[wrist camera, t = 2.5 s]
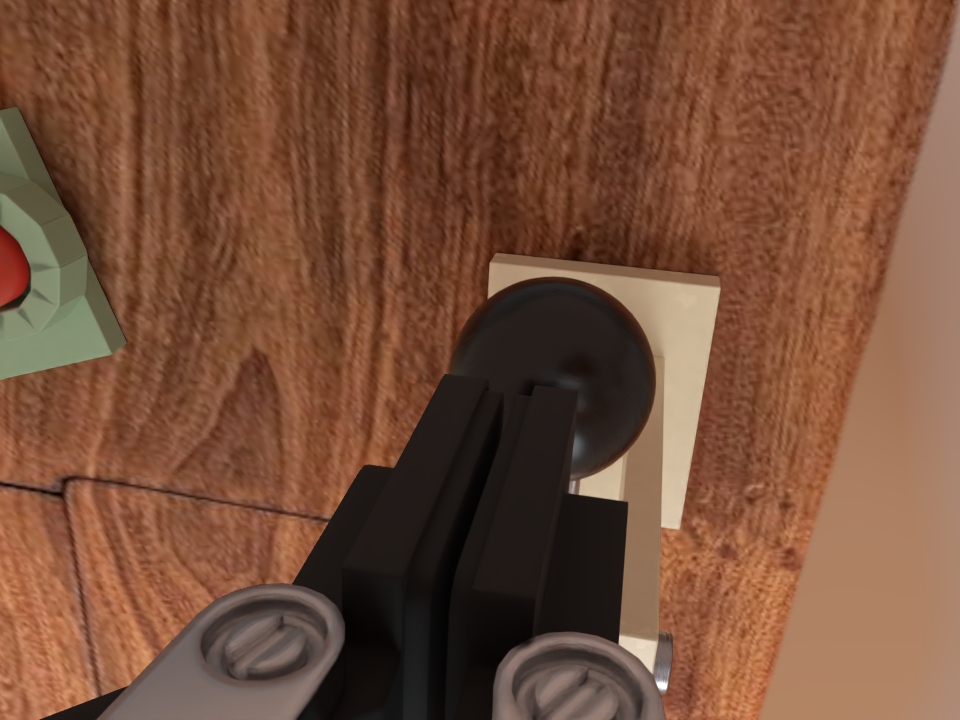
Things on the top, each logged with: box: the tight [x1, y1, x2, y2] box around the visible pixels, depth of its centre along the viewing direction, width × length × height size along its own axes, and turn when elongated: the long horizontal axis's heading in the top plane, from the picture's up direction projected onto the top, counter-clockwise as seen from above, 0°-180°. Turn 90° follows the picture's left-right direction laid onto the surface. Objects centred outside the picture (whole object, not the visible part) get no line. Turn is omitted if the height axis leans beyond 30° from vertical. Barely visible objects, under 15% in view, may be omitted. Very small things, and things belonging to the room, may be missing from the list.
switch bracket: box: [488, 253, 721, 694], centre depth 27 cm, size 10×8×16 cm
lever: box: [449, 276, 656, 495], centre depth 18 cm, size 13×3×3 cm, turn 177°
